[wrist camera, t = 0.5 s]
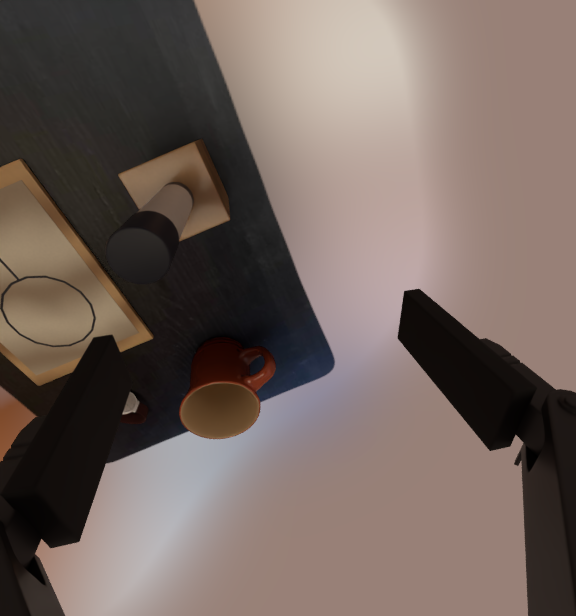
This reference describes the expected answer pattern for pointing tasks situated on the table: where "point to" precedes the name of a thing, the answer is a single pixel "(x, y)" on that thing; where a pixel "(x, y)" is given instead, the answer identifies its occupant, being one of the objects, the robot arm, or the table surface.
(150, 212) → the marker
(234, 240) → the table surface
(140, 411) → the watch
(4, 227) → the sketch pad
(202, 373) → the mug
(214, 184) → the wooden block
